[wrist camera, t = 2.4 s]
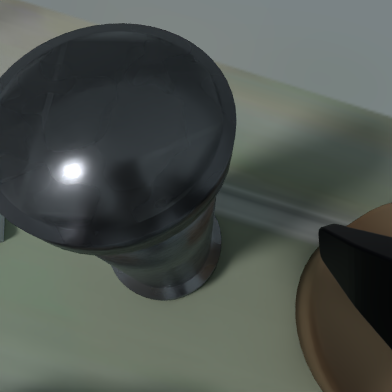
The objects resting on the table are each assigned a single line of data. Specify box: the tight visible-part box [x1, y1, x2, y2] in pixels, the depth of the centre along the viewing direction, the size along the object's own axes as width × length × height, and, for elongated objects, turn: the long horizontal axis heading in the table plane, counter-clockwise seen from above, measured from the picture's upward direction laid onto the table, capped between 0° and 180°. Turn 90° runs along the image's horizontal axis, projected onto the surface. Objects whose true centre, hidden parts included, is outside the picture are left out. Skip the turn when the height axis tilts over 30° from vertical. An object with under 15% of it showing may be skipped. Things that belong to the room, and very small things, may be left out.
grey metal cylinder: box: [0, 23, 236, 301], centre depth 13 cm, size 7×7×13 cm
